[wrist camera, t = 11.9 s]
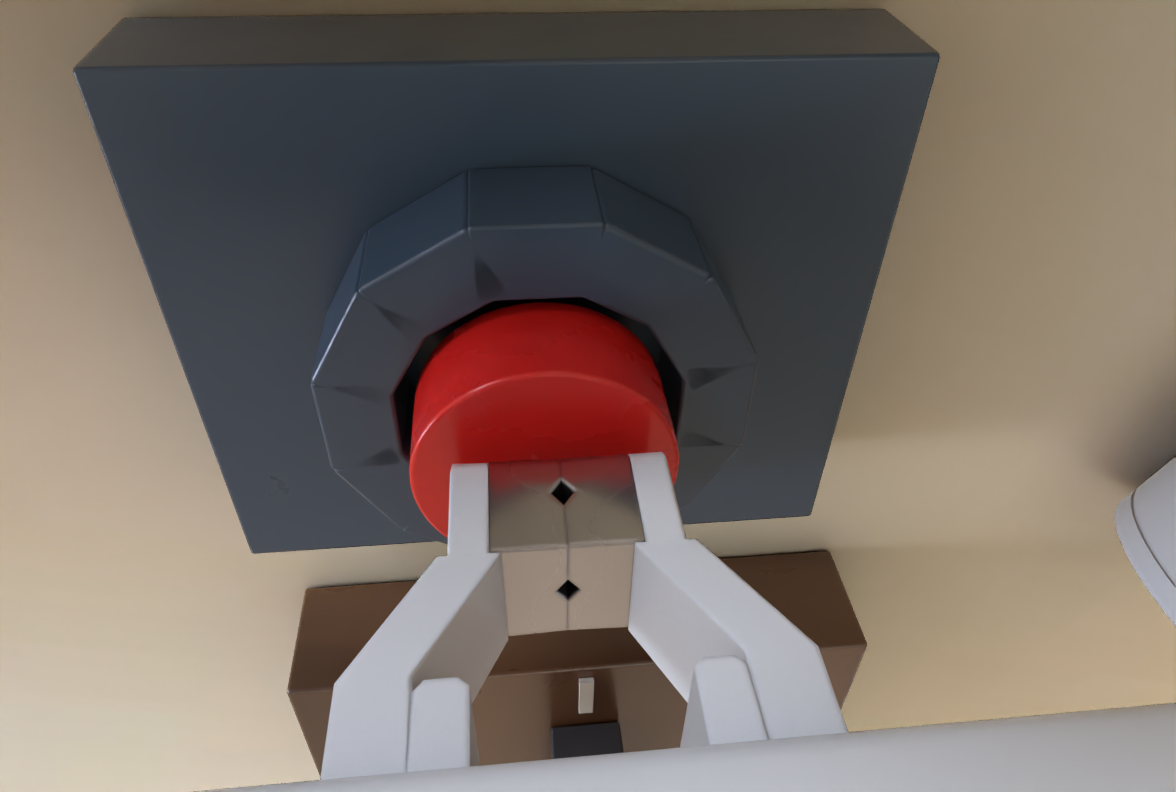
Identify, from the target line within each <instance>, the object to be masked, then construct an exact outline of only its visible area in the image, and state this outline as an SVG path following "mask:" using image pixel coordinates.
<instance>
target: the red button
mask: <svg viewBox="0 0 1176 792" xmlns="http://www.w3.org/2000/svg"><path fill="white" fill-rule="evenodd" d="M651 452H663V453H664V455H665V456H666V458H667V462H668V466H669V470H670V474H671V479H672V483H673V486H674V484H675V481H676V478H677V473H678V468H679V450H678V443H677V439H676V435H675V431H674V428H673V424H672V420H671V416H670V413H669V409H668V405H667V402H666V398H665V394H664V390H663V387H662V383H661V379H660V375H659V372H658V369H657V366H656V363H655V361H654V359H653V358H652V356H651V354H650V352H649V350H648V349H647V348H646V347H645V345H644V344H643V343H642V341H641V340H640V339H639V338H638V337H637V336H636V335H634V334H633V333H632V332H631V331H630V330H629V329H627V328H626V327H625V326H623V325H622V324H620V323H619V322H618V321H616V320H614V319H612V318H610V317H608V316H606V315H604V314H602V313H600V312H597V311H594V310H592V309H589V308H585V307H581V306H577V305H573V304H566V303H558V302H531V303H520V304H515V305H511V306H506V307H502V308H499V309H496V310H492V311H489V312H486V313H484V314H482V315H480V316H478V317H476V318H473V319H471V320H470V321H468V322H466V323H465V324H463V325H462V326H460V327H458V328H457V329H456V330H454V331H453V332H452V333H451V334H449V335H448V336H447V337H446V338H445V339H444V340H443V341H442V342H441V343H440V344H439V345H438V346H437V347H436V348H435V349H434V351H433V352H432V353H431V355H430V356H429V358H428V359H427V361H426V362H425V364H424V366H423V368H422V370H421V372H420V375H419V378H418V381H417V385H416V390H415V399H414V412H413V425H412V438H411V450H410V463H409V479H410V486H411V490H412V493H413V496H414V499H415V501H416V503H417V505H418V507H419V509H420V511H421V512H422V513H423V515H424V516H425V518H426V519H427V520H428V521H429V523H430V524H431V525H432V526H433V527H434V528H435V529H436V530H437V531H439V532H440V533H441V534H442V535H444V536H445V537H446V538H448V520H449V490H450V471H451V467H452V464H469V463H488V464H489V462H504V461H532V460H558V459H566V458H580V457H594V456H609V455H623V454H626V455H628V454H637V453H651Z"/></svg>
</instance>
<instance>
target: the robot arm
mask: <svg viewBox="0 0 1176 792" xmlns="http://www.w3.org/2000/svg"><path fill="white" fill-rule="evenodd" d="M618 627H628V630H629V631H630V633H631V634H632V635H633V636H634V638H635V639H636V640H637V641H638V643H639V644H640V645H641V646H642V647H643V649H644V650H645V651H646V652H647V654H648V655H649V656H650V657H651V659H652V660H653V661H654V662H655V663H656V665H657V666H658V667H659V668H660V670H661V671H662V672H663V673H664V675H665V676H666V677H667V678H668V679H669V681H670V682H671V683H672V684H673V686H674V687H675V688H676V689H677V691H678V692H679V693H680V694H681V695H682V697H683V698H684V699H685V700H686V702H687V703H688V705H687V711H686V716H685V722H684V728H683V733H682V739H681V744H680V748H669V749H658V750H647V751H636V752H625V753H614V754H603V755H592V756H581V757H570V758H559V759H548V760H537V761H525V762H514V763H503V764H492V765H481V766H480V759H479V752H478V744H477V737H476V730H475V722H474V715H473V708H472V703H473V701H474V699H475V697H476V696H477V694H478V692H479V690H480V689H481V687H482V685H483V683H484V682H485V680H486V678H487V676H488V675H489V673H490V671H491V669H492V668H493V666H494V664H495V662H496V661H497V659H498V657H499V655H500V654H501V652H502V650H503V648H504V647H505V645H506V643H507V641H508V636H516V635H525V634H535V633H544V632H554V631H564V630H579V629H599V628H618ZM193 792H1176V703H1167V704H1155V705H1144V706H1133V707H1122V708H1111V709H1100V710H1089V711H1078V712H1067V713H1056V714H1045V715H1033V716H1022V717H1011V718H1000V719H989V720H978V721H967V722H956V723H945V724H934V725H923V726H912V727H900V728H889V729H878V730H867V731H856V732H848V730H847V727H846V724H845V721H844V719H843V716H842V713H841V710H840V707H839V704H838V701H837V699H836V696H835V693H834V690H833V687H832V684H831V681H830V679H829V676H828V673H827V670H826V667H825V664H824V661H823V659H822V656H821V653H820V650H819V647H818V645H816V644H815V643H814V642H813V641H812V640H811V639H810V638H809V637H807V636H806V635H805V634H804V633H803V632H802V631H801V630H799V629H798V628H797V627H796V626H795V625H794V624H793V623H792V622H790V621H789V620H788V619H787V618H786V617H785V616H784V615H782V614H781V613H780V612H779V611H778V610H777V609H776V608H775V607H773V606H772V605H771V604H770V603H769V602H768V601H767V600H766V599H764V598H763V597H762V596H761V595H760V594H759V593H758V592H756V591H755V590H754V589H753V588H752V587H751V586H750V585H749V584H747V583H746V582H745V581H744V580H743V579H742V578H741V577H739V576H738V575H737V574H736V573H735V572H734V571H733V570H732V569H730V568H729V567H728V566H727V565H726V564H725V563H724V562H722V561H721V560H720V559H719V558H718V557H717V556H716V555H715V554H713V553H712V552H711V551H710V550H709V549H708V548H707V547H705V546H704V545H703V544H702V543H701V542H700V541H699V540H698V539H686V535H685V531H684V527H683V523H682V519H681V515H680V511H679V507H678V503H677V499H676V495H675V491H674V487H673V483H672V479H671V474H670V470H669V466H668V462H667V458H666V456H665V455H664V453H663V452H651V453H637V454H628V455H626V454H623V455H609V456H594V457H580V458H566V459H558V460H532V461H504V462H489V464H488V463H469V464H452V467H451V471H450V490H449V520H448V551H447V556H439V557H436V558H435V559H434V561H433V562H432V563H431V564H430V566H429V567H428V568H427V569H426V571H425V572H424V573H423V574H422V576H421V577H420V578H419V579H418V580H417V582H416V583H415V584H414V585H413V587H412V588H411V589H410V590H409V592H408V593H407V594H406V595H405V597H404V598H403V599H402V600H401V602H400V603H399V604H398V605H397V607H396V608H395V609H394V610H393V611H392V613H391V614H390V615H389V616H388V618H387V619H386V620H385V621H384V623H383V624H382V625H381V626H380V628H379V629H378V630H377V631H376V633H375V634H374V635H373V636H372V637H371V639H370V640H369V641H368V642H367V644H366V645H365V646H364V647H363V649H362V650H361V651H360V652H359V654H358V655H357V656H356V657H355V659H354V660H353V661H352V662H351V664H350V665H349V666H348V667H347V668H346V670H345V671H344V672H343V673H342V675H341V676H340V677H339V678H338V680H337V681H336V682H335V683H334V688H333V695H332V702H331V708H330V715H329V722H328V729H327V736H326V743H325V749H324V756H323V763H322V770H321V777H320V780H315V781H304V782H293V783H281V784H270V785H259V786H248V787H237V788H226V789H215V790H204V791H193Z"/></svg>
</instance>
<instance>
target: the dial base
mask: <svg viewBox="0 0 1176 792" xmlns="http://www.w3.org/2000/svg"><path fill="white" fill-rule="evenodd" d="M720 560H721V561H722V562H724V563H725V564H726V565H727V566H728V567H729V568H730V569H732V570H733V571H734V572H735V573H736V574H737V575H738V576H739V577H741V578H742V579H743V580H744V581H745V582H746V583H747V584H749V585H750V586H751V587H752V588H753V589H754V590H755V591H756V592H758V593H759V594H760V595H761V596H762V597H763V598H764V599H766V600H767V601H768V602H769V603H770V604H771V605H772V606H773V607H775V608H776V609H777V610H778V611H779V612H780V613H781V614H782V615H784V616H785V617H786V618H787V619H788V620H789V621H790V622H792V623H793V624H794V625H795V626H796V627H797V628H798V629H799V630H801V631H802V632H803V633H804V634H805V635H806V636H807V637H809V638H810V639H811V640H812V641H813V642H814V643H815V644H816V645H818V647H819V650H820V653H821V656H822V659H823V661H824V664H825V667H826V670H827V673H828V676H829V679H830V681H831V684H832V687H833V690H834V693H835V696H836V699H837V701H838V704H839V707H840V710H841V708H842V706H843V703H844V701H845V699H846V696H847V694H848V691H849V689H850V686H851V684H852V681H853V679H854V676H855V674H856V672H857V669H858V667H859V664H860V662H861V659H862V657H863V654H864V652H865V649H866V647H867V642H866V640H865V637H864V635H863V632H862V630H861V627H860V625H859V622H858V620H857V618H856V615H855V613H854V610H853V608H852V605H851V603H850V600H849V598H848V595H847V593H846V591H845V588H844V586H843V583H842V581H841V578H840V576H839V573H838V571H837V568H836V566H835V563H834V561H833V559H832V556H831V554H830V552H828V551H822V552H808V553H794V554H780V555H766V556H753V557H739V558H725V559H720ZM416 582H417V581H405V582H391V583H377V584H363V585H350V586H336V587H322V588H308V589H306V591H305V595H304V600H303V606H302V611H301V617H300V622H299V628H298V634H297V639H296V645H295V650H294V656H293V661H292V667H291V672H290V678H289V683H288V689H287V693H288V696H289V698H290V701H291V704H292V706H293V709H294V711H295V714H296V716H297V719H298V721H299V724H300V726H301V729H302V731H303V734H304V736H305V739H306V742H307V744H308V747H309V749H310V752H311V754H312V757H313V759H314V762H315V764H316V767H317V769H318V772H319V774H320V777H321V770H322V763H323V756H324V749H325V743H326V736H327V729H328V722H329V715H330V708H331V702H332V695H333V688H334V683H335V682H336V681H337V680H338V678H339V677H340V676H341V675H342V673H343V672H344V671H345V670H346V668H347V667H348V666H349V665H350V664H351V662H352V661H353V660H354V659H355V657H356V656H357V655H358V654H359V652H360V651H361V650H362V649H363V647H364V646H365V645H366V644H367V642H368V641H369V640H370V639H371V637H372V636H373V635H374V634H375V633H376V631H377V630H378V629H379V628H380V626H381V625H382V624H383V623H384V621H385V620H386V619H387V618H388V616H389V615H390V614H391V613H392V611H393V610H394V609H395V608H396V607H397V605H398V604H399V603H400V602H401V600H402V599H403V598H404V597H405V595H406V594H407V593H408V592H409V590H410V589H411V588H412V587H413V585H414V584H415V583H416ZM687 705H688V703H687V702H686V700H685V699H684V698H683V697H682V695H681V694H680V693H679V692H678V691H677V689H676V688H675V687H674V686H673V684H672V683H671V682H670V681H669V679H668V678H667V677H666V676H665V675H664V673H663V672H662V671H661V670H660V668H659V667H658V666H657V665H656V663H655V662H654V661H653V660H652V659H651V657H650V656H649V655H648V654H647V652H646V651H645V650H644V649H643V647H642V646H641V645H640V644H639V643H638V641H637V640H636V639H635V638H634V636H633V635H632V634H631V633H630V631H629V630H628V627H618V628H599V629H579V630H564V631H554V632H544V633H535V634H525V635H516V636H508V641H507V643H506V645H505V647H504V648H503V650H502V652H501V654H500V655H499V657H498V659H497V661H496V662H495V664H494V666H493V668H492V669H491V671H490V673H489V675H488V676H487V678H486V680H485V682H484V683H483V685H482V687H481V689H480V690H479V692H478V694H477V696H476V697H475V699H474V701H473V703H472V708H473V715H474V722H475V730H476V737H477V744H478V752H479V759H480V766H481V765H492V764H503V763H514V762H525V761H537V760H548V759H551V741H550V730H551V728H555V727H566V726H577V725H589V724H600V723H611V722H619V724H620V729H621V736H622V743H623V750H624V753H625V752H636V751H647V750H658V749H669V748H680V744H681V739H682V733H683V728H684V722H685V716H686V711H687Z"/></svg>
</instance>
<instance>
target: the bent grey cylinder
mask: <svg viewBox="0 0 1176 792" xmlns="http://www.w3.org/2000/svg"><path fill="white" fill-rule="evenodd" d="M1114 519H1115V525H1116V530H1117V533H1118V536H1119V539H1120V542H1121V544H1122V546H1123V548H1124V551H1125V553H1126V555H1127V557H1128V559H1129V560H1130V562H1131V564H1132V566H1133V567H1134V569H1135V571H1136V573H1137V574H1138V576H1139V577H1140V579H1141V580H1142V582H1143V583H1144V585H1145V586H1146V588H1147V589H1148V591H1149V592H1150V594H1151V595H1152V596H1153V598H1154V599H1155V600H1156V602H1157V603H1158V604H1159V606H1160V607H1161V608H1162V610H1163V611H1164V612H1165V614H1166V615H1167V616H1168V617H1169V619H1170V620H1171V621H1172V622H1173V624H1174V625H1175V626H1176V457H1174V458H1173V459H1172V460H1171V461H1170V462H1168V463H1167V464H1166V465H1165V466H1163V467H1162V468H1161V469H1160V470H1158V471H1157V472H1156V473H1155V474H1153V475H1152V476H1151V477H1150V478H1149V479H1147V480H1146V481H1145V482H1144V483H1142V484H1141V485H1140V486H1139V487H1137V489H1135V490H1134V491H1132V492H1131V493H1130V494H1129V495H1128V496H1126V497H1125V498H1124V499H1123V500H1121V501H1120V502H1119V503H1118V505H1117V507H1116V509H1115V516H1114Z"/></svg>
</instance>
